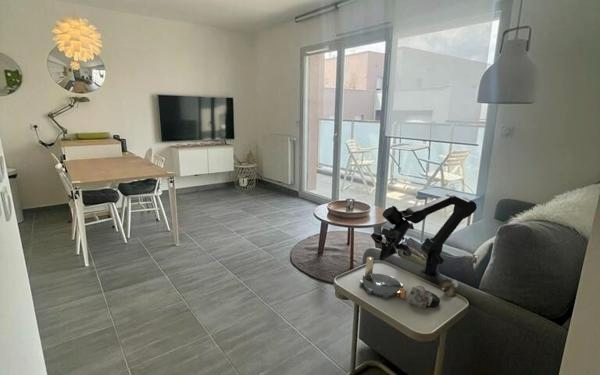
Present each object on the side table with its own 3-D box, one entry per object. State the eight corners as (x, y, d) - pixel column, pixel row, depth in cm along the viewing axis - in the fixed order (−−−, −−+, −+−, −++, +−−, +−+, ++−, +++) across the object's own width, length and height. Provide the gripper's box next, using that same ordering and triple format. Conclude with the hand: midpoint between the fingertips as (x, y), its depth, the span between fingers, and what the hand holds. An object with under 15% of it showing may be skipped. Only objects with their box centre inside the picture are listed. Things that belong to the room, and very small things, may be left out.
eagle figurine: (434, 282, 142) (433, 288, 133) (447, 271, 140) (446, 276, 131) (449, 296, 139) (449, 302, 131) (461, 285, 137) (462, 291, 129)
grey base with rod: (357, 275, 144) (360, 252, 142) (396, 278, 144) (400, 255, 142) (363, 296, 128) (366, 271, 125) (407, 300, 127) (411, 274, 125)
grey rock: (435, 306, 130) (436, 316, 121) (407, 293, 134) (406, 302, 124) (441, 291, 129) (443, 300, 120) (413, 278, 133) (413, 287, 123)
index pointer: (400, 295, 131) (401, 287, 130) (405, 298, 130) (406, 290, 129) (398, 297, 130) (399, 289, 129) (403, 299, 128) (405, 291, 128)
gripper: (375, 215, 147) (356, 243, 143) (411, 228, 133) (391, 259, 129) (384, 228, 154) (366, 255, 150) (419, 242, 140) (401, 272, 135)
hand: (380, 260), depth 141 cm, fingers closed
